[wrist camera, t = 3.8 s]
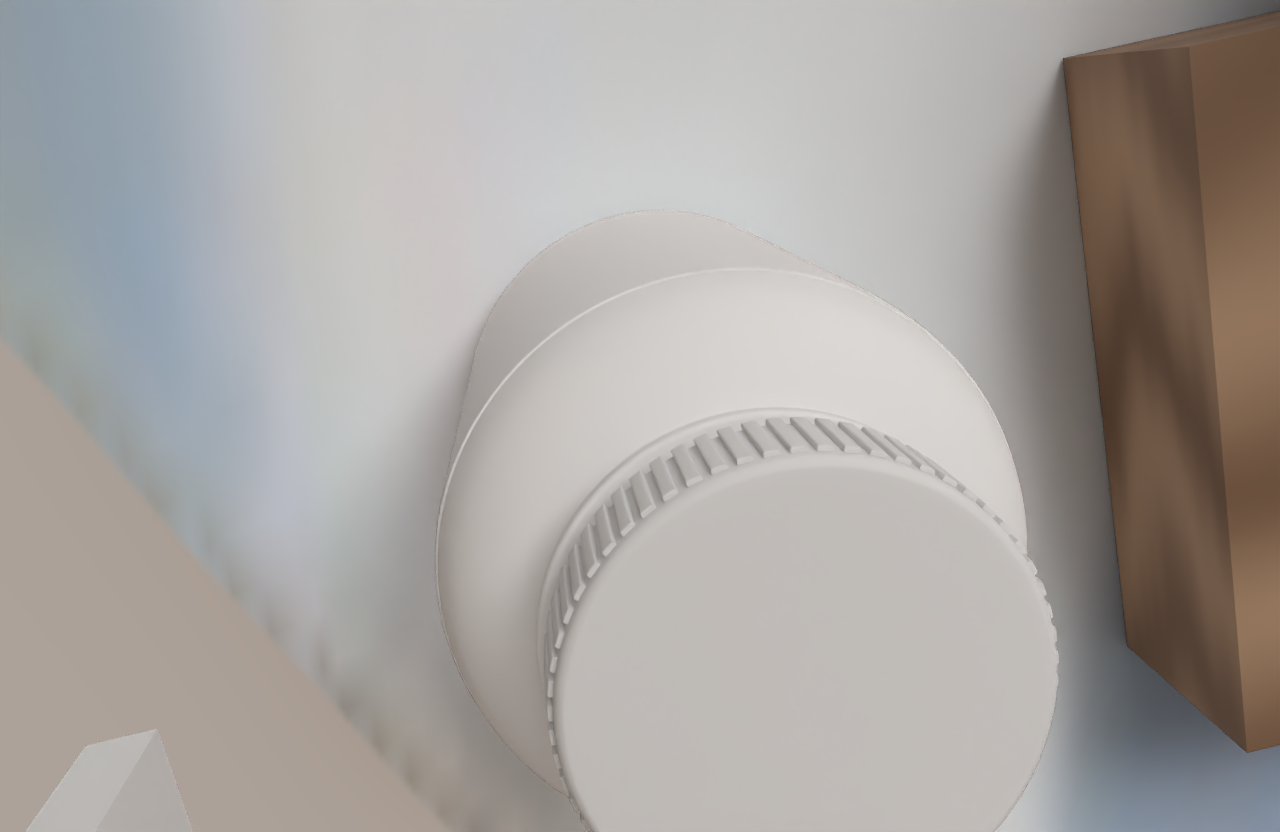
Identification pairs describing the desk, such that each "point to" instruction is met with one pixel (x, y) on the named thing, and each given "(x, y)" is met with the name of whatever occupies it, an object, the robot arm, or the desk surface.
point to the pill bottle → (739, 546)
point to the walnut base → (1190, 350)
